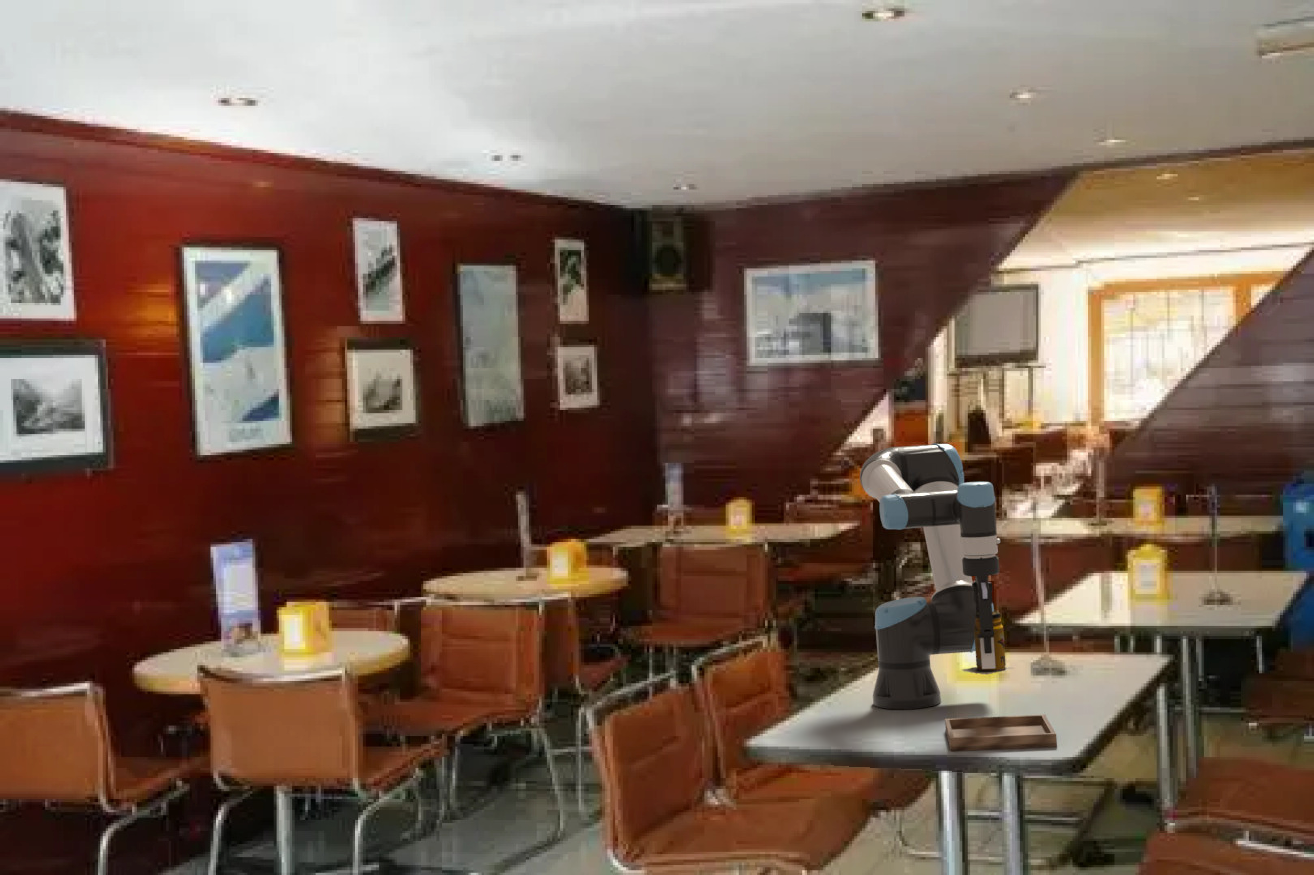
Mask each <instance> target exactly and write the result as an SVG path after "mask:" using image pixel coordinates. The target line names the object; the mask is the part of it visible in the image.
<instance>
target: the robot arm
mask: <svg viewBox="0 0 1314 875" xmlns="http://www.w3.org/2000/svg"><path fill="white" fill-rule="evenodd" d="M963 469H964V467H963V462H962V460H961V457H960V454H959V453H958V450H957V449H956V447H954V446H953V445H951V444H948V443H935V442H934V443H931V444H924V445H910V446H909V445H908V446H907V445H906V446H892V447H891V446H890V447H887V448H883V449H882V450H879V451H877V452H876V453H875V452H874V453H873V454H872V455H870V456H869V458H867V459H866V460H865V461H864V463H863V464H862V466H861V469H860V471H859V481H860V486H861V487H862V489H863V490H864V492H865V493H866V494H867V495H868V496H870V497H872V498H873V499H876V500H877V501H878V502H879V516H880V521H881V524H882V525H881V526H882V527H883V528H884V529H885V530H898V531H899V530H905V529H917V528H923V533H924V538H925V543H926V548H927V553H928V558H929V564H930V567H931V574H932V578H933V579H932V580H933V583H934V588H935V592H934V593H933V594H932V596H931V599H930V602H927V601H928V600H926V598H925V597H923V596H913V597H904V598H899V599H895V600H890V601H887V602H885V603H882V604H880V605H879V606H878V607H877V608H876V609H875V614H874V617H875V618H874V624H875V625H874V629H875V635H876V649H877V651H876V652H877V664H878V665H877V666H878V672H877V675H876V681H875V684H874V688H873V691H872V702H873V705H874V707H877V708H881V709H887V710H888V709H889V710H890V709H891V710H912V709H923V708H927V707H928V708H929V707H932V706H933V707H934V706H936V705H938V704H940V703H941V701H942V700H941V699H942V698H941V691H940V688H939V685H938V683H937V681H936V678H935V675H934V674H933V670H932V668H931V666H932V665H931V655H945V654H946V655H947V654H956V653H957V654H960V653H974V652H976V651H975V635H974V627H975V624H976V623H975V620H976V618H975V614H976V613H978V612H979V620H980V632H981V634H980V635H977V638H980V645H981V660H982V669H993V668H996V667H995V652H994V637H993V636H994V631H993V617H992V611H994V612H995V609H994V603H993V583H992V582H991V581H989V576H996V575H998V574H999V573H1000V562H999V561H1000V559H999V557H998V555H996V554H998V552H999V550H998V547H999V546H998V544H1000V543H1001V539H1000V538H997V537H998V536H997V535H998V532H997V516H996V496H995V491H994V490H995V489H994V485H993V483H992V482H989V481H969V482H968V481H967V482H965V474H964V470H963ZM973 577H975V578H974V580H973Z"/></svg>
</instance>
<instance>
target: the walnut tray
mask: <svg viewBox="0 0 1314 875" xmlns="http://www.w3.org/2000/svg"><path fill="white" fill-rule="evenodd" d="M944 722H945V723H944V725H945V733H946V738H947V742H948V745H949V749H950V752H963V751H964V752H966V751H967V752H968V751H985V750H987V751H989V750H992V751H994V750H1013V749H1037V748H1039V749H1040V748H1057V747H1058V741H1057V738H1058V737H1057V733H1056V730H1055V729H1054V728H1053V726H1052V724H1051V723H1050V721H1049V719H1048V717H1047V716H1046V715H1045V714H1031V715H1008V716H986V717H985V716H983V717H982V716H981V717H965V718H962V717H961V718H944Z"/></svg>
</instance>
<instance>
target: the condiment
mask: <svg viewBox="0 0 1314 875" xmlns="http://www.w3.org/2000/svg"><path fill="white" fill-rule="evenodd" d="M1001 615H1002V614H1001V613H1000V612H998V611H995V610H994V611H992V617H993V631H994V636H993V637H994V652H995V667H996V668H993V669H982V660H981V645H980V638H977V635H980V634H981V632H980V620H979V612H978V613H976V614H975V618H976V620H975V623H976V624H975V627H974V635H975V651H974V652H975V661H976V662H975V665H976V666H975V667H969V668H964V669H962V671H964V672H967V673H972V674H976V675H977V674H980V675H990V674H992V675H993V674H994V673H996V674H997V673H1000V672H1006V671H1010V670H1013V669H1015V667H1013V666H1012V667H1011V666H1006V648H1005V636H1004V635H1005V634H1004V633H1005V632H1004V631H1005V630H1004V626H1003V624H1002V618H1001Z"/></svg>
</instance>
